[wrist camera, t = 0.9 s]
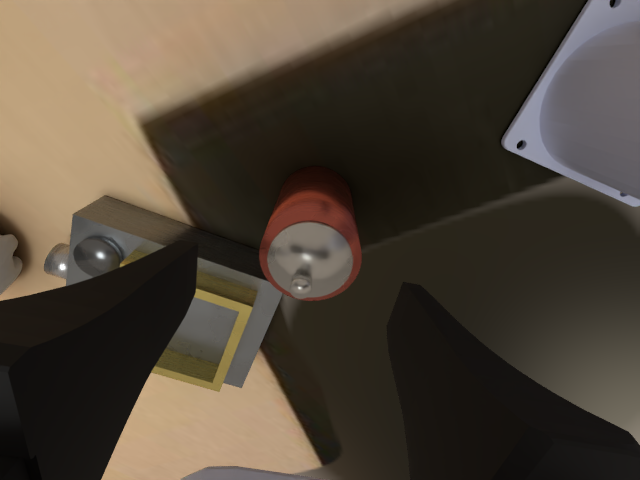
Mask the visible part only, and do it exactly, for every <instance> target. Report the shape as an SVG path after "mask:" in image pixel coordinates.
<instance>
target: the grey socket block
mask: <svg viewBox="0 0 640 480" xmlns="http://www.w3.org/2000/svg"><path fill="white" fill-rule="evenodd" d="M179 240H184V241H189V242H195V243H199V245H198V262H197V279H196V293H195V295H194V298H193V300H192V302H191V305H190V307H189V309H188V311H187V314H186V316H185V318H184V319H183V321H182V323H181V324H180V326H179V328H178V329H177V331H176V333H175V334H174V336H173V337H172V339H171V341H170V342H169V344H168V345H167V347H166V349H165V350H164V352H163V354H162V355H161V357H160V358H159V360H158V362H157V363H156V365H155V366H154V368H153V370H152V371H151V372H152V373H155V374H159V375H162V376H166V377H169V378H173V379H176V380H180V381H183V382H187V383H190V384H193V385H197V386H200V387H204V388H207V389H211V390H214V391H218V392H219V391H220V389H221V386H222V384H223V383H226V384H229V385H233V386H236V387H240V388H242V386H243V384H244V381H245V379H246V377H247V375H248V372H249V370H250V368H251V365H252V363H253V361H254V358H255V356H256V354H257V351H258V349H259V347H260V345H261V342H262V340H263V338H264V335H265V333H266V331H267V328H268V326H269V324H270V322H271V319H272V317H273V315H274V312H275V310H276V308H277V305H278V303H279V301H280V299H281V296H282V294H283V293H282V292H280V291H279V290H277V289H276V288H275V287H274V286H273V285H272V284H271V283H270V282H269V281H268V280H267V278H266V277H265V275H264V273H263V271H262V268H261V265H260V260H259V250H256V249H253V248H250V247H248V246H245V245H242V244H239V243H236V242H234V241H231V240H228V239H225V238H222V237H220V236H217V235H214V234H211V233H208V232H206V231H203V230H200V229H197V228H194V227H192V226H189V225H186V224H183V223H180V222H178V221H175V220H172V219H169V218H166V217H164V216H161V215H158V214H155V213H153V212H150V211H147V210H144V209H141V208H139V207H136V206H133V205H130V204H127V203H125V202H122V201H119V200H116V199H113V198H111V197H108V196H103V197H101V198H100V199H98V200H96V201H94V202H93V203H91V204H89V205H88V206H86V207H84V208H83V209H81V210H79V211H77V212H76V213H74V214H73V218H72V229H71V239H70V245H67V244H64V243H60V244H58V245H56V246H55V247H54V248H53V249H52V250H51V251H50V253H49V254H48V256H47V258H46V260H45V264H44V270H45V272H46V273H47V274H50V275H54V276H57V277H60V278H63V279H66V286H68V285H72V284H75V283H78V282H81V281H84V280H87V279H91V278H93V277H96V276H99V275H102V274H104V273H107V272H110V271H112V270H114V269H117V268H119V267H122V266H124V265H126V264H129V263H131V262H134V261H136V260H138V259H140V258H142V257H144V256H147V255H149V254H151V253H153V252H155V251H157V250H159V249H161V248H163V247H165V246H168V245H170V244H172V243H174V242H176V241H179Z"/></svg>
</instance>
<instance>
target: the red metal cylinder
mask: <svg viewBox="0 0 640 480" xmlns="http://www.w3.org/2000/svg"><path fill="white" fill-rule="evenodd" d="M259 260H260V265H261V268H262V271H263V273H264V275H265V277H266V278H267V280H268V281H269V282H270V283H271V284H272V285H273V286H274V287H275V288H276V289H277V290H279V291H280V292H282V293H284V294H285V295H287V296H290V297H292V298H296V299H299V300H307V301H317V300H324V299H328V298H331V297H333V296H336V295H337V294H339V293H341V292H342V291H344V290H345V289H346V288H347V287H349V286H350V285H351V283H352V282H353V281H354V280H355V278H356V277H357V275H358V272H359V270H360V266H361V261H362V253H361V247H360V241H359V236H358V230H357V224H356V219H355V213H354V207H353V202H352V196H351V191H350V188H349V186H348V184H347V183H346V181H345V180H344V179H343V178H342V177H341V176H340V175H339V174H338V173H336V172H335V171H333V170H331V169H328V168H325V167H321V166H310V167H305V168H302V169H300V170H298V171H296V172H294V173H293V174H292V175H290V176H289V177H288V178H287V180H286V181H285V182H284V184H283V186H282V188H281V191H280V194H279V196H278V199H277V202H276V204H275V207H274V210H273V212H272V215H271V218H270V220H269V223H268V225H267V228H266V231H265V233H264V236H263V239H262V242H261V245H260V250H259Z"/></svg>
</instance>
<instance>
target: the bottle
mask: <svg viewBox="0 0 640 480" xmlns="http://www.w3.org/2000/svg"><path fill="white" fill-rule="evenodd" d="M17 246H18V241H17V239H16V238H15V236H14V235H12V234H7V235H4V236H2V235H0V295H1V294H2V293H3V292H4V291H5V290H6V289H7V288H8V287H9V286H10V285H11V284H12V283H13V282H14V281H15V280H16V278H17V277H18V275H19V274H20V272H21V269H22V261H21V259H19V258H18V257H16V256H13V253H14V251H15V249H16V248H17Z"/></svg>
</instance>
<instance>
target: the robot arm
mask: <svg viewBox="0 0 640 480" xmlns="http://www.w3.org/2000/svg"><path fill="white" fill-rule="evenodd" d="M615 1H616V2H615V4H614V6H613V7H612V8H611V7H610V4H609V2H610V0H588V1H587V3H586V4H585V6H584V8H583V9H582V11H581V12H580V14H579V16H578V17H577V19H576V21H575V22H574V24H573V25H572V27H571V29H570V30H569V32H568V33H567V35H566V37H565V38H564V40H563V41H562V43H561V45H560V46H559V48H558V49H557V51H556V53H555V54H554V56H553V57H552V59H551V61H550V62H549V64H548V65H547V67H546V69H545V70H544V72H543V73H542V75H541V77H540V78H539V80H538V81H537V83H536V85H535V86H534V88H533V89H532V91H531V93H530V94H529V96H528V97H527V99H526V101H525V102H524V104H523V105H522V107H521V109H520V110H519V112H518V113H517V115H516V117H515V118H514V120H513V121H512V123H511V125H510V126H509V128H508V129H507V131H506V133H505V134H504V136H503V138H502V140H501V144H502V146H503V147H504V148H505V149H507V150H509V151H511V152H513V153H515V154H518V155H520V156H522V157H524V158H526V159H529V160H531V161H533V162H535V163H538V164H540V165H542V166H544V167H546V168H549V169H551V170H553V171H555V172H557V173H560V174H562V175H564V176H566V177H568V178H571V179H573V180H576V181H577V182H580V183H582V184H584V185H586V186H588V187H591V188H593V189H595V190H597V191H599V192H602V193H604V194H606V195H609V196H611V197H613V198H615V199H617V200H620V201H622V202H624V203H626V204H628V205H630V206H634V207H636V206H640V0H615ZM521 140H523V145H522V146H521V147H520V148H518V149H517V143H518V142H519V141H521ZM620 192H623V193H622V194H620ZM198 245H199V243H195V242H189V241H184V240H179V241H176V242H174V243H172V244H170V245H168V246H165V247H163V248H161V249H159V250H157V251H155V252H153V253H151V254H149V255H147V256H144V257H142V258H140V259H138V260H136V261H134V262H131V263H129V264H126V265H124V266H122V267H119V268H117V269H114V270H112V271H110V272H107V273H104V274H102V275H99V276H96V277H93V278H91V279H87V280H84V281H81V282H78V283H75V284H72V285H68V286H65V287H61V288H57V289H53V290H49V291H45V292H41V293H37V294H33V295H28V296H24V297H19V298H14V299H9V300H3V301H0V480H101V478H102V476H103V474H104V472H105V469H106V467H107V465H108V462H109V460H110V458H111V455H112V453H113V451H114V449H115V446H116V444H117V442H118V440H119V437H120V435H121V433H122V431H123V429H124V426H125V424H126V422H127V420H128V418H129V416H130V413H131V411H132V409H133V407H134V405H135V403H136V401H137V399H138V397H139V395H140V393H141V390H142V388H143V386H144V384H145V382H146V380H147V379H148V377H149V375H150V373H151V371H152V370H153V368H154V366H155V365H156V363H157V362H158V360H159V358H160V357H161V355H162V354H163V352H164V350H165V349H166V347H167V345H168V344H169V342H170V341H171V339H172V337H173V336H174V334H175V333H176V331H177V329H178V328H179V326H180V324H181V323H182V321H183V319H184V318H185V316H186V314H187V311H188V309H189V307H190V305H191V302H192V300H193V298H194V295H195V293H196V279H197V262H198ZM387 339H388V351H389V356H390V361H391V365H392V370H393V374H394V378H395V382H396V387H397V391H398V396H399V400H400V404H401V409H402V414H403V419H404V425H405V434H406V442H407V450H408V460H409V470H410V480H640V445H639V444H638V442H637V441H636V440H635V439H634V437H633V436H632V435H631V434H630V433H629V432H628V431H625V430H624V429H622V428H620V427H618V426H616V425H614V424H612V423H610V422H608V421H606V420H604V419H602V418H599V417H598V416H595V415H593V414H591V413H589V412H587V411H585V410H583V409H582V408H579V407H578V406H576V405H574V404H572V403H571V402H569V401H567V400H565V399H564V398H562V397H560V396H558V395H557V394H555V393H553V392H551V391H550V390H548V389H547V388H545V387H543V386H542V385H540V384H538V383H537V382H535V381H534V380H532V379H531V378H529V377H528V376H526V375H524V374H523V373H522V372H520V371H519V370H517V369H516V368H514V367H513V366H511V365H510V364H508V363H507V362H506V361H505V360H503V359H502V358H500V357H499V356H498V355H497V354H495V353H494V352H493V351H491V350H490V349H489V348H488V347H486V346H485V345H484V344H483V343H481V342H480V341H479V340H478V339H477V338H476V337H475V336H473V335H472V334H471V333H470V332H469V331H468V330H467V329H466V328H464V327H463V326H462V325H461V324H460V323H459V322H458V321H457V320H456V319H455V318H454V317H453V316H452V315H450V313H449V312H448V311H447V310H446V309H444V307H443V306H442V305H441V304H440V303H438V302H437V300H435V298H434V297H433V296H431V295H430V294H429V293H428V292H427V291H426V290H425V289H424V288H423V287H422V286H420V285H417V284H411V283H406V282H403V284H402V286H401V289H400V292H399V295H398V297H397V300H396V303H395V305H394V308H393V311H392V313H391V316H390V319H389V322H388V324H387ZM181 480H327V479H320V478H313V477H307V476H300V475H293V474H286V473H279V472H272V471H265V470H259V469H252V468H245V467H238V466H217V467H207V468H204V469H202V470H199V471H197V472H195V473H192V474H190V475H188V476H186V477H184V478H182V479H181Z"/></svg>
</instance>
